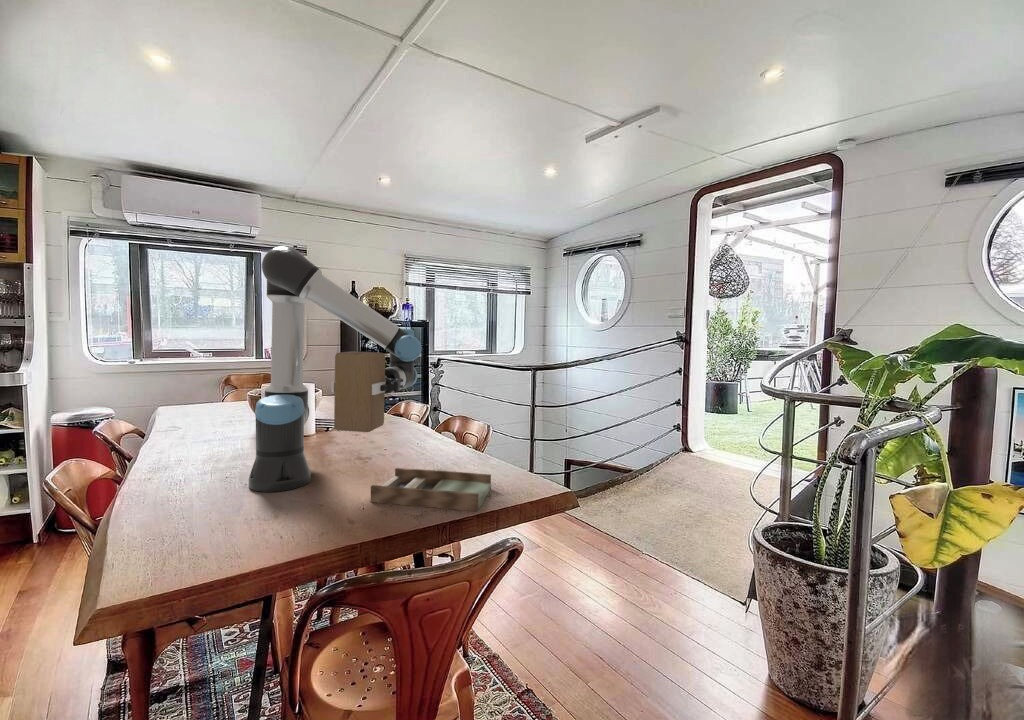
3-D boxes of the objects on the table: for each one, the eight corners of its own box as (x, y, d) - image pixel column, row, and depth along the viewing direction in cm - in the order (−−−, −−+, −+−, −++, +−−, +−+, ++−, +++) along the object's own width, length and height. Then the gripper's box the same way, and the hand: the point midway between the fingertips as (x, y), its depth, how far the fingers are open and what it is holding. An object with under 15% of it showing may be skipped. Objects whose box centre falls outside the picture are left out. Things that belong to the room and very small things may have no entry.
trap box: (370, 502, 113) (370, 486, 113) (396, 481, 129) (396, 467, 128) (477, 511, 109) (477, 494, 109) (490, 488, 125) (491, 474, 124)
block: (385, 425, 125) (386, 352, 124) (370, 433, 115) (371, 354, 114) (350, 423, 126) (351, 351, 125) (332, 431, 116) (333, 352, 115)
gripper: (425, 394, 137) (395, 405, 115) (353, 390, 140) (311, 400, 118) (425, 369, 136) (395, 375, 114) (353, 366, 139) (311, 371, 118)
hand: (352, 388), depth 116 cm, fingers closed on block, 10 cm apart
